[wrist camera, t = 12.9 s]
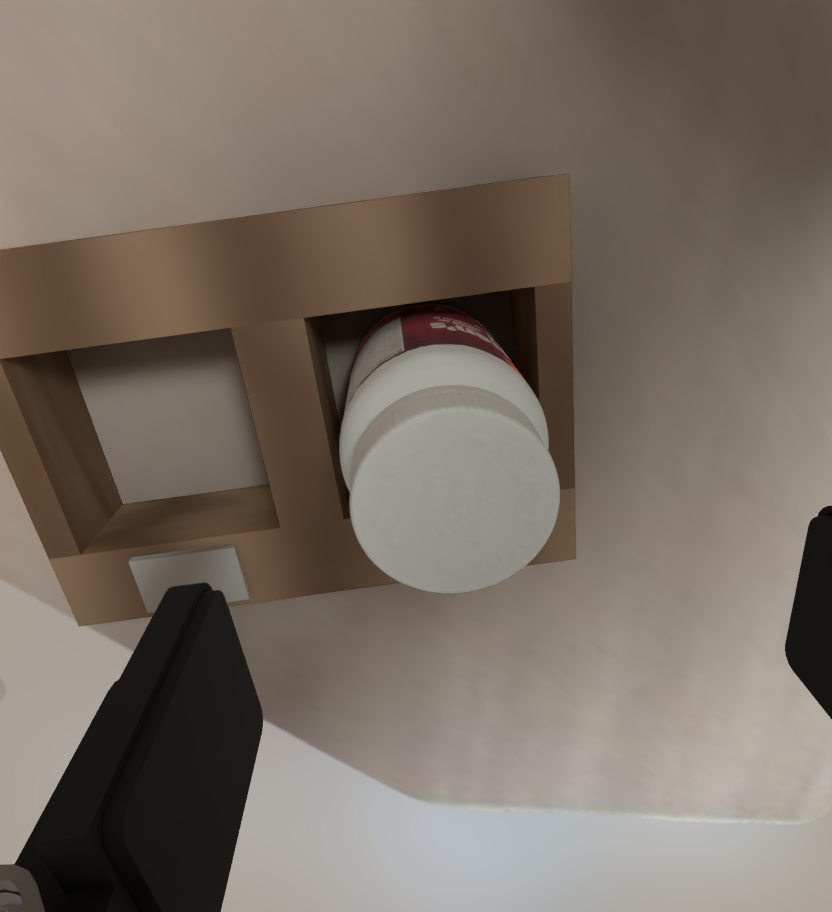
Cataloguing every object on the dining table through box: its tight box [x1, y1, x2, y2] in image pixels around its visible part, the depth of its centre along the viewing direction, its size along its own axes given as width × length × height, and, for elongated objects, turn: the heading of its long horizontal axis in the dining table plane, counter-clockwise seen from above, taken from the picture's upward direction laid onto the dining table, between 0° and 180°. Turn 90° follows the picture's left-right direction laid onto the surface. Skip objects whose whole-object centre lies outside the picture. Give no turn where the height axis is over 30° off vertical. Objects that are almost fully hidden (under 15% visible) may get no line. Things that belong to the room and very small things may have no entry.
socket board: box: [0, 174, 576, 626], centre depth 23 cm, size 20×14×4 cm
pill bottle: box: [339, 303, 560, 593], centre depth 19 cm, size 6×6×11 cm
